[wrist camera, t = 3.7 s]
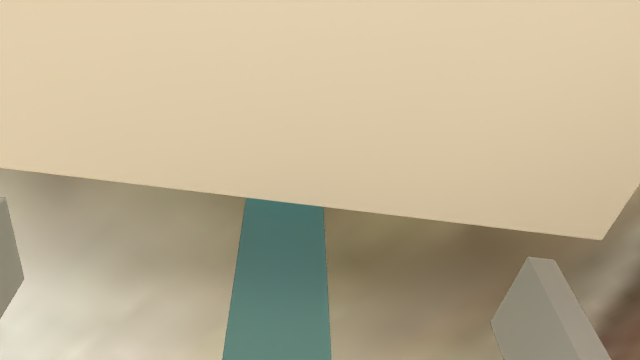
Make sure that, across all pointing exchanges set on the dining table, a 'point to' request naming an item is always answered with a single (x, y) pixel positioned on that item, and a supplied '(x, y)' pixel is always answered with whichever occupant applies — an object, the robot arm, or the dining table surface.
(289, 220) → the mailer tray
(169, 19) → the sleeve
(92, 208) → the dining table surface
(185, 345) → the dining table surface
